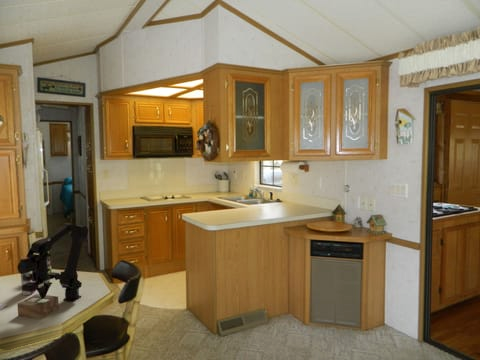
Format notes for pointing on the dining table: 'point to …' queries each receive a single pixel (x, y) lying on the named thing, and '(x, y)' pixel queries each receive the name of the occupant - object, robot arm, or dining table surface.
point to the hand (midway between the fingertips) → (43, 298)
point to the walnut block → (37, 306)
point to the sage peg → (43, 300)
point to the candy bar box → (25, 283)
